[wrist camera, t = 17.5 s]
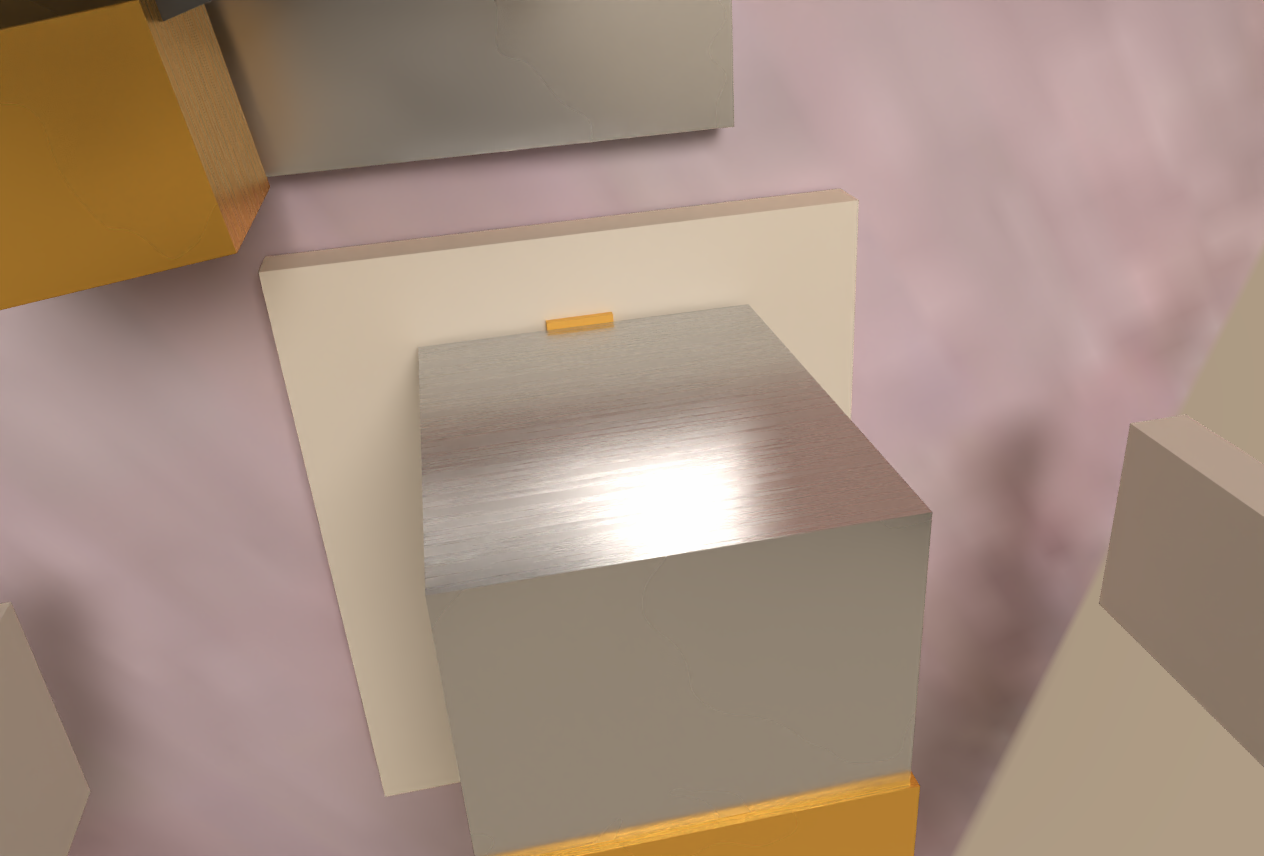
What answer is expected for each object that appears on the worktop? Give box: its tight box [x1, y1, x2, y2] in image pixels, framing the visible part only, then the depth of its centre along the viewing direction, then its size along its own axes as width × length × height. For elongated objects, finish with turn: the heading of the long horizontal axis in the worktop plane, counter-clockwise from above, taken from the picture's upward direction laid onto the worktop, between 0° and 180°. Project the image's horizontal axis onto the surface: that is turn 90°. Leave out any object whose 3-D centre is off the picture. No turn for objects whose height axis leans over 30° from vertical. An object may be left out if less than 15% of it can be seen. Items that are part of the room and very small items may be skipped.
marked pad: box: [258, 189, 859, 797], centre depth 14 cm, size 7×8×1 cm
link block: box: [418, 304, 932, 856], centre depth 12 cm, size 4×7×5 cm, turn 4°
